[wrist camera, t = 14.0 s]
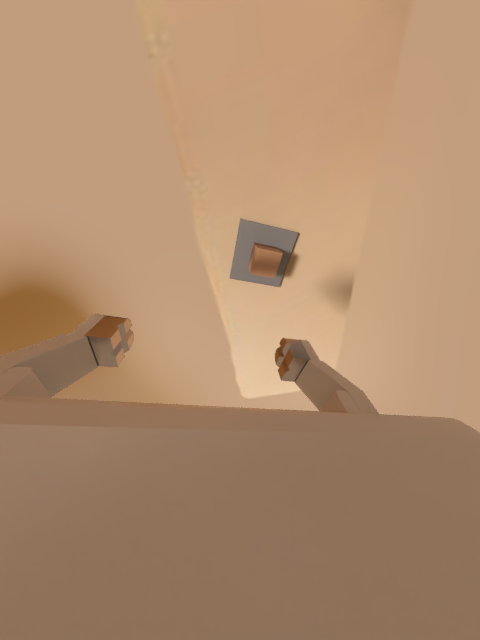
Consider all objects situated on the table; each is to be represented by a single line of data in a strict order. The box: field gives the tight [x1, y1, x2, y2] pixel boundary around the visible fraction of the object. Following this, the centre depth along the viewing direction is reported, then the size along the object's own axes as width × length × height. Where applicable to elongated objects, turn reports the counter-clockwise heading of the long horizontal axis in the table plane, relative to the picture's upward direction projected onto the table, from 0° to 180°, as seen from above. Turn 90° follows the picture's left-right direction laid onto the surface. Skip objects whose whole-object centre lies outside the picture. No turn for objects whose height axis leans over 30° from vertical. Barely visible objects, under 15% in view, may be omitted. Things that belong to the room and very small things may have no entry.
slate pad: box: [230, 219, 298, 287], centre depth 37 cm, size 12×12×1 cm
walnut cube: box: [248, 242, 283, 278], centre depth 35 cm, size 5×5×5 cm
